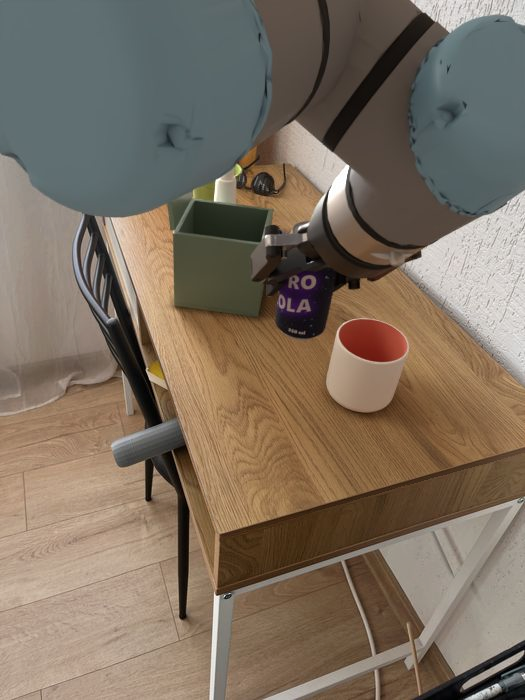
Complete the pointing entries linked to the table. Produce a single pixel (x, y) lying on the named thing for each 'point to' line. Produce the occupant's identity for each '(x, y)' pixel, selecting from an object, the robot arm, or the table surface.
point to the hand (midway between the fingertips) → (296, 284)
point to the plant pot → (212, 187)
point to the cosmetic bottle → (226, 188)
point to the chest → (218, 257)
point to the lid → (178, 209)
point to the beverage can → (305, 301)
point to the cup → (366, 364)
